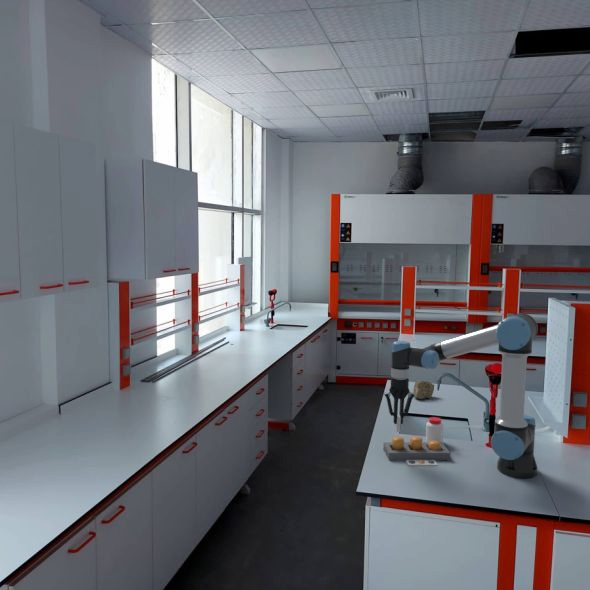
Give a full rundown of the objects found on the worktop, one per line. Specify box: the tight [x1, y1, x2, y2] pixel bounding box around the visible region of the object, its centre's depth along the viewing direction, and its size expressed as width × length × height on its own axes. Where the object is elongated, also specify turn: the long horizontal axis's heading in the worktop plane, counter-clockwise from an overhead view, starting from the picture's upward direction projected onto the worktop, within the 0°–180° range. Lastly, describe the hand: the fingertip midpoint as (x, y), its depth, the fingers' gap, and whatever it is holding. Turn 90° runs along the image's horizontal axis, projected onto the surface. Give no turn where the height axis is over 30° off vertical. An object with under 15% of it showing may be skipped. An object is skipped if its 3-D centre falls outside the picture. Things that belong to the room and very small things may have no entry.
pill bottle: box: [425, 416, 445, 444], centre depth 254 cm, size 8×8×11 cm
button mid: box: [409, 436, 423, 450], centre depth 240 cm, size 5×5×4 cm
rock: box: [412, 380, 435, 400], centre depth 325 cm, size 11×12×10 cm
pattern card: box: [405, 460, 438, 467], centre depth 231 cm, size 12×5×1 cm, turn 92°
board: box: [383, 441, 451, 461], centre depth 240 cm, size 26×12×3 cm, turn 92°
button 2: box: [428, 441, 441, 450], centre depth 241 cm, size 5×5×4 cm
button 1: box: [391, 436, 405, 450], centre depth 240 cm, size 5×5×4 cm
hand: (397, 430), depth 239 cm, fingers closed
